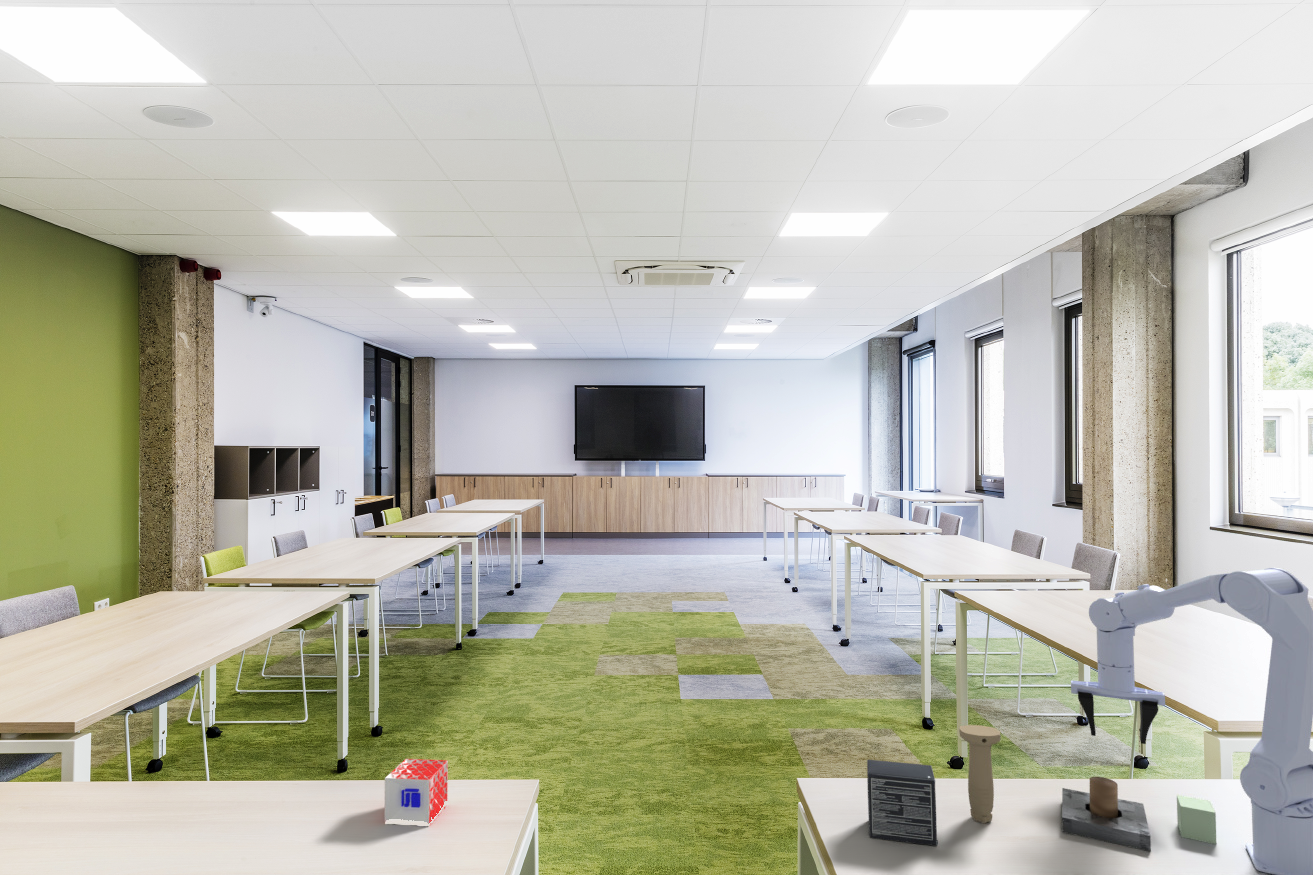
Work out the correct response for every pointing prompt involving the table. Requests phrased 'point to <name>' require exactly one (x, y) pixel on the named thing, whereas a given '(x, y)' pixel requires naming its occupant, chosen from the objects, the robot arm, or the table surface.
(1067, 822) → the socket block
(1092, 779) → the walnut peg
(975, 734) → the handle
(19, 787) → the table surface
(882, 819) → the small box
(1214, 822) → the square bit
